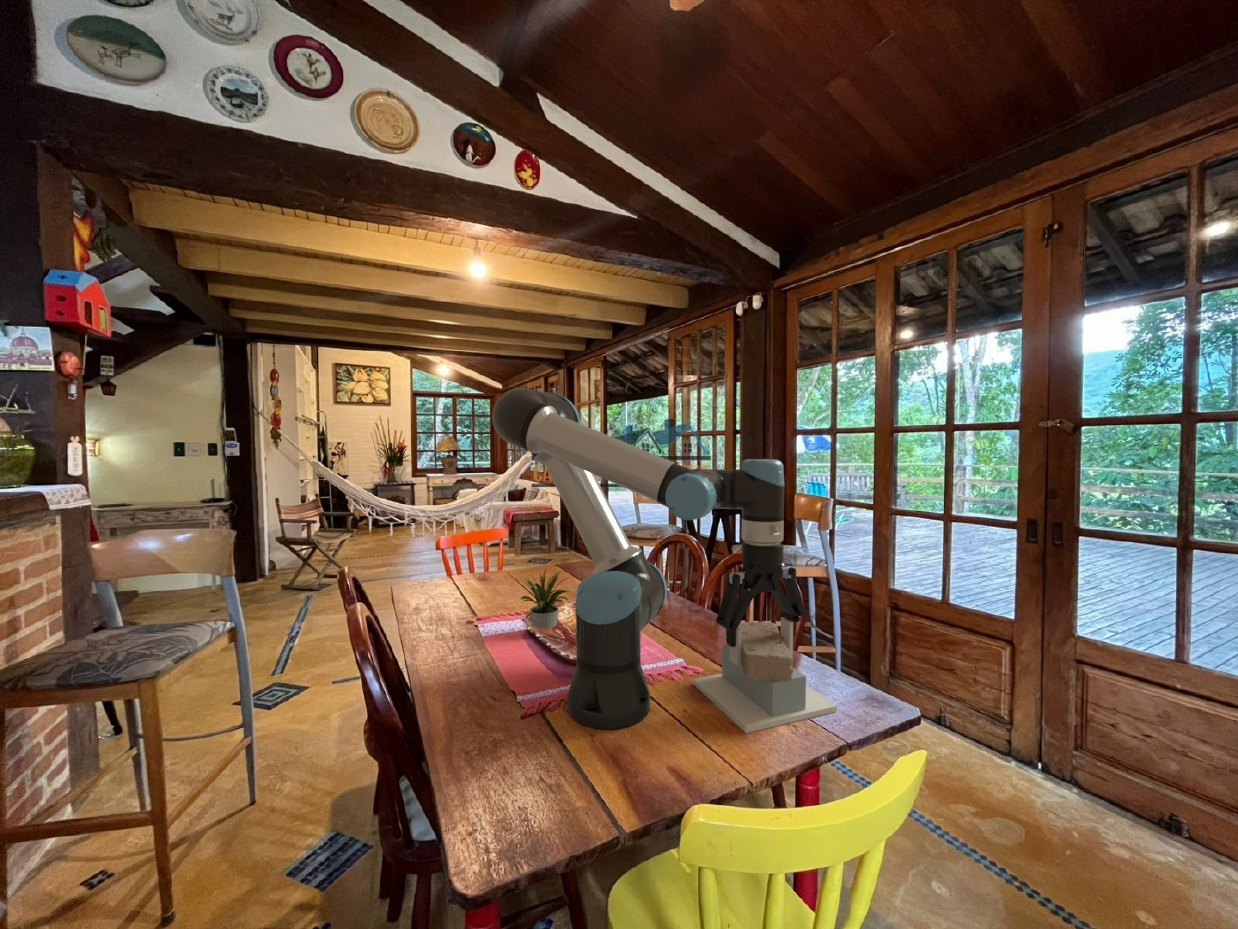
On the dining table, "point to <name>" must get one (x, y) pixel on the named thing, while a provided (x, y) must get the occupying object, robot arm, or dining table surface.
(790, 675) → the brick
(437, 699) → the dining table surface
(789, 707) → the tower base
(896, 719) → the dining table surface
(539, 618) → the house plant
